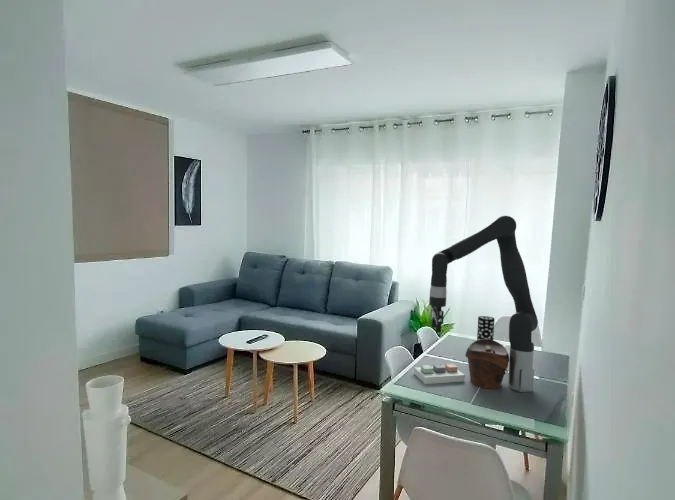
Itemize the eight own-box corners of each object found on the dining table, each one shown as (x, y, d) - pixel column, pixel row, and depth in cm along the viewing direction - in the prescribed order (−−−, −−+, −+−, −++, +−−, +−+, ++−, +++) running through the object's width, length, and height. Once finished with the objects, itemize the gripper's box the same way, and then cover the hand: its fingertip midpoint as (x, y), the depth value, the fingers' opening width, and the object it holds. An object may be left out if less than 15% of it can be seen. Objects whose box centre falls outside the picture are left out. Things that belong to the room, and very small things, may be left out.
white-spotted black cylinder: (476, 355, 211) (478, 318, 210) (475, 350, 219) (477, 315, 218) (493, 357, 209) (495, 320, 207) (491, 352, 217) (493, 316, 215)
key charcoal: (445, 372, 177) (445, 367, 177) (436, 372, 176) (437, 368, 176) (440, 368, 181) (441, 364, 181) (432, 369, 180) (433, 365, 180)
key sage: (432, 372, 176) (433, 368, 176) (424, 373, 175) (424, 368, 175) (428, 369, 180) (429, 365, 179) (420, 369, 179) (421, 365, 179)
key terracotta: (457, 371, 178) (457, 367, 178) (449, 371, 177) (449, 367, 177) (452, 368, 182) (452, 363, 182) (444, 368, 181) (445, 364, 181)
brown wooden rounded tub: (482, 394, 161) (485, 351, 160) (455, 376, 181) (457, 338, 180) (518, 391, 166) (521, 350, 165) (488, 374, 185) (491, 336, 184)
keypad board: (464, 381, 175) (464, 374, 175) (425, 384, 171) (425, 377, 171) (451, 371, 187) (451, 365, 186) (413, 373, 182) (414, 367, 182)
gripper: (450, 298, 175) (448, 334, 176) (442, 293, 189) (440, 326, 190) (433, 298, 175) (431, 333, 176) (426, 292, 189) (424, 325, 190)
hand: (436, 329), depth 183 cm, fingers open, 8 cm apart
